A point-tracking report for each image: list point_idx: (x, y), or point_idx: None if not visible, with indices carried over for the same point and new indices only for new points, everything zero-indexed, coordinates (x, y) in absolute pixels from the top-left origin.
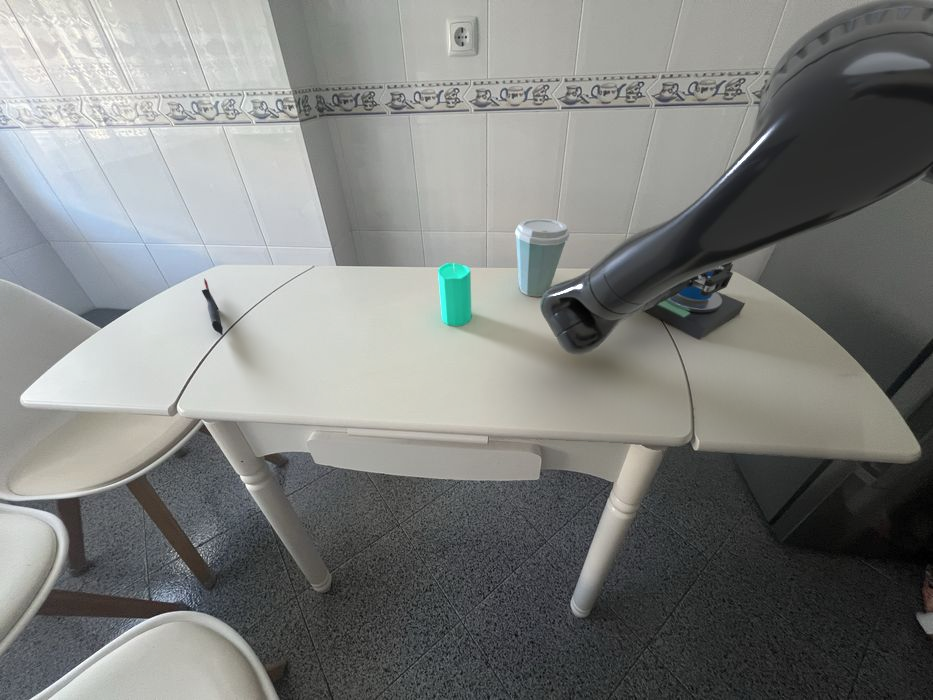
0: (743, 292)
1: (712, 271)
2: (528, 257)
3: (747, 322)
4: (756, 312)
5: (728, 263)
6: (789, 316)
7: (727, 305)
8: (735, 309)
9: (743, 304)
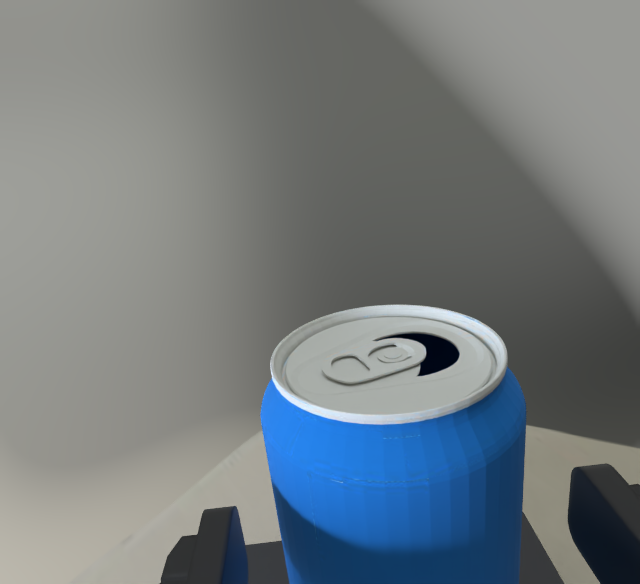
0: None
1: (515, 569)
2: None
3: (585, 574)
4: (524, 498)
5: (637, 501)
6: (567, 447)
7: (522, 580)
8: (560, 578)
9: (528, 522)
